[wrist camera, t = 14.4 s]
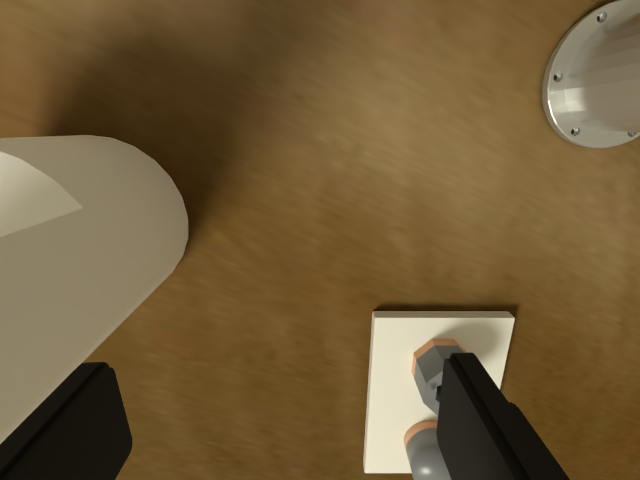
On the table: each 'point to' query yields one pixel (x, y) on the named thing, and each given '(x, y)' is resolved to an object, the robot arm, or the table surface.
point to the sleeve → (432, 369)
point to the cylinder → (75, 255)
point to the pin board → (401, 390)
